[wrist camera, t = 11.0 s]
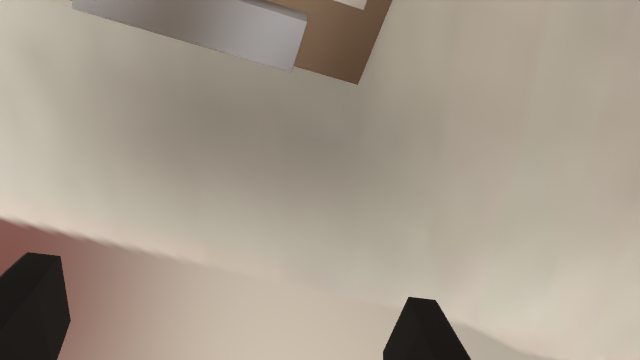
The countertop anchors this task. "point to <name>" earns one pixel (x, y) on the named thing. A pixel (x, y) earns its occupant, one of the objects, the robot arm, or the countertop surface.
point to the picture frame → (263, 29)
